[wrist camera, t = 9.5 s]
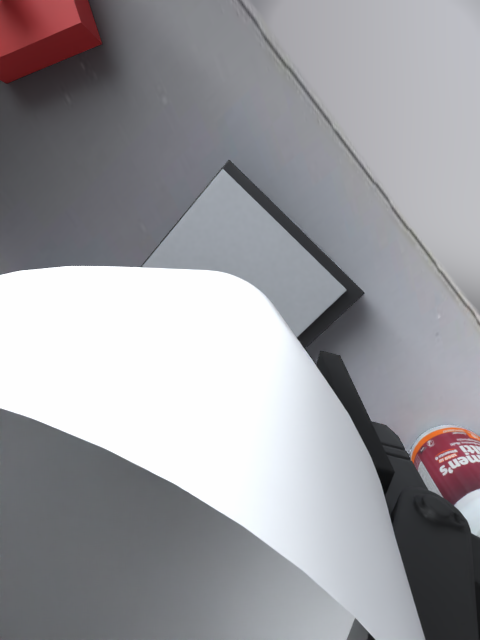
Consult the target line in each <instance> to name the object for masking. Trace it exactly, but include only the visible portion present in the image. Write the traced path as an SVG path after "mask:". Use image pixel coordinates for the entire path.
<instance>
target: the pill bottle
mask: <svg viewBox="0 0 480 640" xmlns="http://www.w3.org/2000/svg"><path fill="white" fill-rule="evenodd" d="M410 458H411V459H410V461H412V462H413V464H414V465H415V467H416V469H417V471H418V472H419V474H420V476H421V478H422V480H423V481H424V483H425V485H426V487H427V488H428V490H429V491H432V492H434V493H436V494H438V495H440V496H441V497H443V498H444V499H446V500H448V501H449V502H450V503H451V504H452V505H454V506H455V507H456V508H457V509H458V510H459V511H460V512H461V513H462V515H463V516H464V517H465V518H466V520H467V521H468V524H469V527H470V530H471V533H472V534H474V535H476V536H478V537H480V437H479V436H478V435H477V434H475V433H474V432H473V431H471V430H469V429H467V428H464V427H461V426H456V425H442V426H437V427H434V428H432V429H429V430H427V431H425V432H424V433H423V434H422V435H420V436H419V438H418V439H417V440H416V441H415V443H414V444H413V446H412V449H411V453H410Z"/></svg>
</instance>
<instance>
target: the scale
mask: <svg viewBox="0 0 480 640" xmlns="http://www.w3.org/2000/svg"><path fill="white" fill-rule="evenodd" d="M141 268H166V269H190V270H211V271H219V272H224V273H228V274H231V275H234V276H236V277H239V278H241V279H243V280H245V281H247V282H249V283H250V284H252V285H253V286H255V287H256V288H257V289H258V290H260V291H261V292H262V293H263V294H264V295H265V296H266V297H267V298H268V299H269V300H270V301H271V302H272V304H273V305H274V306H275V308H276V309H277V311H278V312H279V313H280V315H281V316H282V318H283V319H284V321H285V322H286V323H287V325H288V326H289V328H290V329H291V330H292V332H293V333H294V335H295V336H296V338H297V339H298V340H299V342H300V343H301V345H302V346H303V348H304V349H305V348H306V347H307V346H308V345H309V344H310V343H312V342H313V341H314V340H315V339H316V338H317V337H318V336H319V335H320V334H321V333H322V332H323V331H324V330H326V329H327V328H328V327H329V326H330V325H331V324H332V323H333V322H334V321H335V320H336V319H337V318H338V317H340V316H341V315H342V314H343V313H344V312H345V311H346V310H347V309H348V308H349V307H350V306H351V305H353V304H354V303H355V302H356V301H357V300H358V299H359V298H360V297H361V296H362V295H363V294H364V292H363V291H362V290H361V289H360V288H359V287H358V286H357V285H356V284H355V283H354V282H353V281H352V280H351V279H350V278H349V277H348V276H347V275H346V274H345V273H344V272H343V271H342V270H341V269H340V268H339V267H338V266H337V265H336V264H335V263H334V262H333V261H332V260H331V259H330V258H329V257H328V256H327V255H326V254H325V253H324V252H323V251H322V250H321V249H319V248H318V247H317V246H316V245H315V244H314V243H313V242H312V241H311V240H310V239H309V238H308V237H307V236H306V235H305V234H304V233H303V232H302V231H301V230H300V229H299V228H298V227H297V226H296V225H295V224H294V223H293V222H292V221H291V220H290V219H289V218H288V217H287V216H286V215H285V214H284V213H283V212H282V211H281V210H280V209H279V208H278V207H277V206H276V205H275V204H274V203H273V202H272V201H271V200H270V199H269V198H268V197H267V196H266V195H265V194H264V193H263V192H262V191H260V190H259V189H258V188H257V187H256V186H255V185H254V184H253V183H252V182H251V181H250V180H249V179H248V178H247V177H246V176H245V175H244V174H243V173H242V172H241V171H240V170H239V169H238V168H237V167H236V166H235V165H234V164H233V163H232V162H231V161H230V160H228V161H227V162H226V163H225V165H224V166H223V167H222V168H221V170H220V171H219V172H218V173H217V174H216V176H215V177H214V178H213V179H212V180H211V182H210V183H209V184H208V185H207V187H206V188H205V189H204V190H203V191H202V193H201V194H200V195H199V196H198V198H197V199H196V200H195V201H194V202H193V204H192V205H191V206H190V207H189V208H188V210H187V211H186V212H185V213H184V215H183V216H182V217H181V218H180V219H179V221H178V222H177V223H176V224H175V225H174V227H173V228H172V229H171V230H170V232H169V233H168V234H167V235H166V236H165V238H164V239H163V240H162V241H161V243H160V244H159V245H158V246H157V247H156V249H155V250H154V251H153V252H152V253H151V255H150V256H149V257H148V258H147V260H146V261H145V262H144V263H143V264H142V266H141Z"/></svg>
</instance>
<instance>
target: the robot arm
mask: <svg viewBox="0 0 480 640" xmlns="http://www.w3.org/2000/svg"><path fill="white" fill-rule="evenodd" d="M316 366H317V368H318V369H319V371H320V372H321V374H322V375H323V376H324V378H325V379H326V381H327V382H328V384H329V385H330V387H331V388H332V390H333V391H334V393H335V394H336V396H337V397H338V399H339V400H340V402H341V403H342V405H343V406H344V408H345V409H346V411H347V412H348V414H349V416H350V418H351V419H352V421H353V423H354V425H355V427H356V429H357V431H358V433H359V435H360V437H361V438H362V440H363V442H364V444H365V446H366V448H367V450H368V452H369V454H370V456H371V458H372V461H373V464H374V466H375V469H376V471H377V474H378V477H379V479H380V482H381V485H382V489H383V492H384V496H385V500H386V503H387V507H388V511H389V515H390V519H391V523H392V527H393V531H394V534H395V538H396V542H397V545H398V548H399V552H400V555H401V559H402V562H403V565H404V569H405V572H406V576H407V579H408V583H409V586H410V589H411V593H412V596H413V600H414V603H415V606H416V610H417V613H418V617H419V620H420V623H421V627H422V630H423V633H424V636H425V640H480V537H478V536H476V535H474V534H472V533H471V530H470V527H469V524H468V521H467V520H466V518H465V517H464V516H463V515H462V513H461V512H460V511H459V510H458V509H457V508H456V507H455V506H454V505H452V504H451V503H450V502H449V501H448V500H446V499H444V498H443V497H441V496H440V495H438V494H436V493H434V492H432V491H429V490H428V488H427V487H426V485H425V483H424V481H423V480H422V478H421V476H420V474H419V472H418V471H417V469H416V467H415V465H414V464H413V462H412V461H410V459H411V458H410V457H409V455H408V453H407V451H405V448H404V446H403V444H402V442H401V441H400V439H399V437H398V436H397V435H396V434H395V433H394V432H393V431H392V430H391V429H390V428H388V427H387V426H386V425H384V424H380V423H376V422H372V421H371V420H370V418H369V416H368V414H367V412H366V409H365V407H364V405H363V403H362V401H361V399H360V397H359V395H358V392H357V390H356V388H355V386H354V384H353V382H352V380H351V378H350V376H349V373H348V371H347V369H346V367H345V365H344V363H343V361H342V359H341V356H340V355H336V354H332V353H328V352H324V351H320V354H319V357H318V361H317V364H316ZM347 640H375V639H374V638H373V636H372V635H371V634H370V633H369V632H368V631H367V630H366V629H365V628H364V627H363V626H362V625H361V623H360V622H359V621H358V620H357V619H356V618H355V619H354V622H353V625H352V627H351V630H350V632H349V635H348V637H347Z"/></svg>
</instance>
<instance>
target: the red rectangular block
mask: <svg viewBox="0 0 480 640" xmlns="http://www.w3.org/2000/svg"><path fill="white" fill-rule="evenodd" d="M101 44H102V42H101V39H100V36H99V33H98V29H97V26H96V23H95V20H94V17H93V14H92V11H91V8H90V5H89V2H88V0H0V80H1V81H3V82H5V83H9V82H12V81H14V80H17V79H19V78H21V77H24V76H26V75H29V74H31V73H33V72H36V71H38V70H41V69H43V68H45V67H48V66H50V65H53V64H55V63H57V62H60V61H62V60H65V59H67V58H69V57H72V56H74V55H77V54H79V53H82V52H84V51H86V50H89V49H91V48H94V47H96V46H98V45H101Z"/></svg>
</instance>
